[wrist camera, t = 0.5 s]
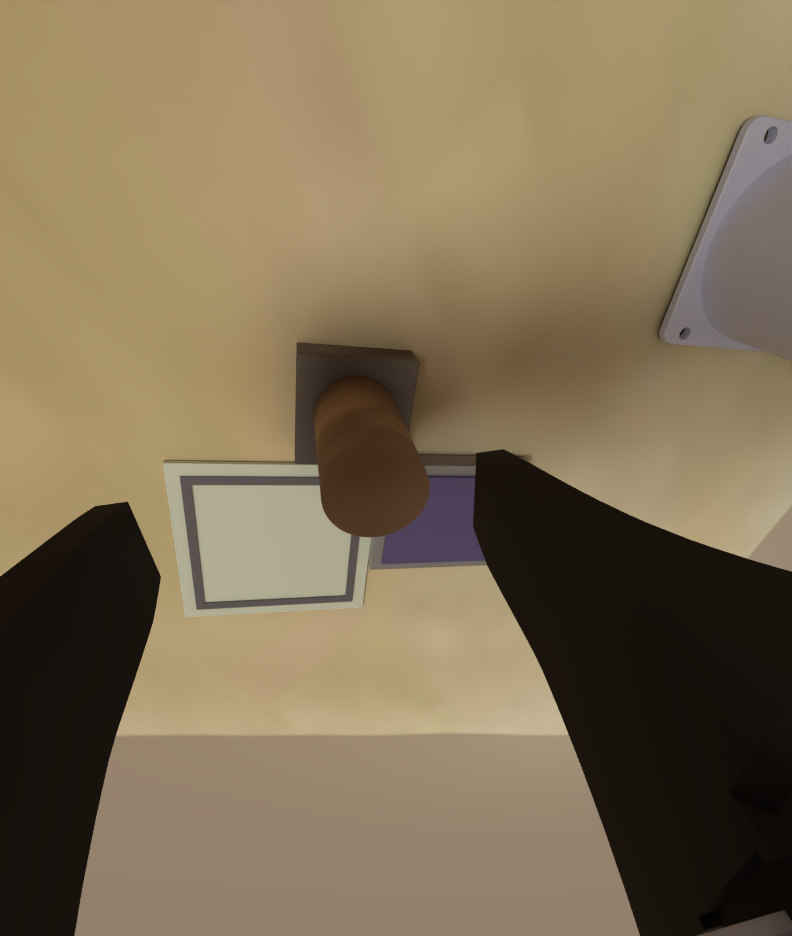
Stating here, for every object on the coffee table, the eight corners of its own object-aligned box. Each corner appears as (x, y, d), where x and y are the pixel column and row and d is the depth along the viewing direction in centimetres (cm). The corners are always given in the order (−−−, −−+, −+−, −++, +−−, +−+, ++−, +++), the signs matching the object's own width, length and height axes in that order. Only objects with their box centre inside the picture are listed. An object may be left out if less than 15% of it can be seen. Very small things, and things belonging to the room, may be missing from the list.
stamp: (410, 350, 19) (464, 426, 13) (396, 448, 21) (437, 551, 15) (296, 342, 18) (299, 421, 12) (294, 446, 20) (296, 555, 14)
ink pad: (522, 456, 22) (533, 469, 21) (494, 551, 25) (502, 567, 24) (380, 453, 21) (384, 467, 20) (367, 556, 24) (370, 572, 23)
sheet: (379, 463, 21) (380, 466, 21) (361, 604, 26) (362, 608, 25) (163, 460, 19) (162, 464, 19) (186, 614, 24) (184, 619, 23)
